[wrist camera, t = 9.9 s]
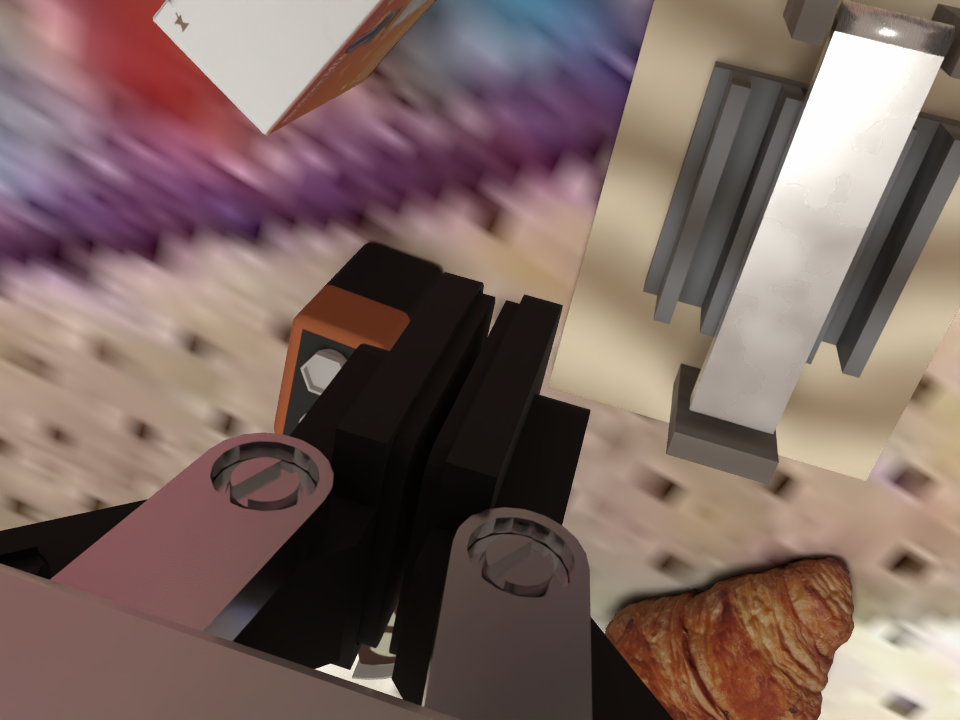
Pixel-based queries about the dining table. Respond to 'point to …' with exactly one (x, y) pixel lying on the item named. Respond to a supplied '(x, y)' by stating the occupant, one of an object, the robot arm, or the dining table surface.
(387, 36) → the small box
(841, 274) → the clamp bar
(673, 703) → the pastry
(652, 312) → the heatsink board
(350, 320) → the battery
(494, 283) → the dining table surface
